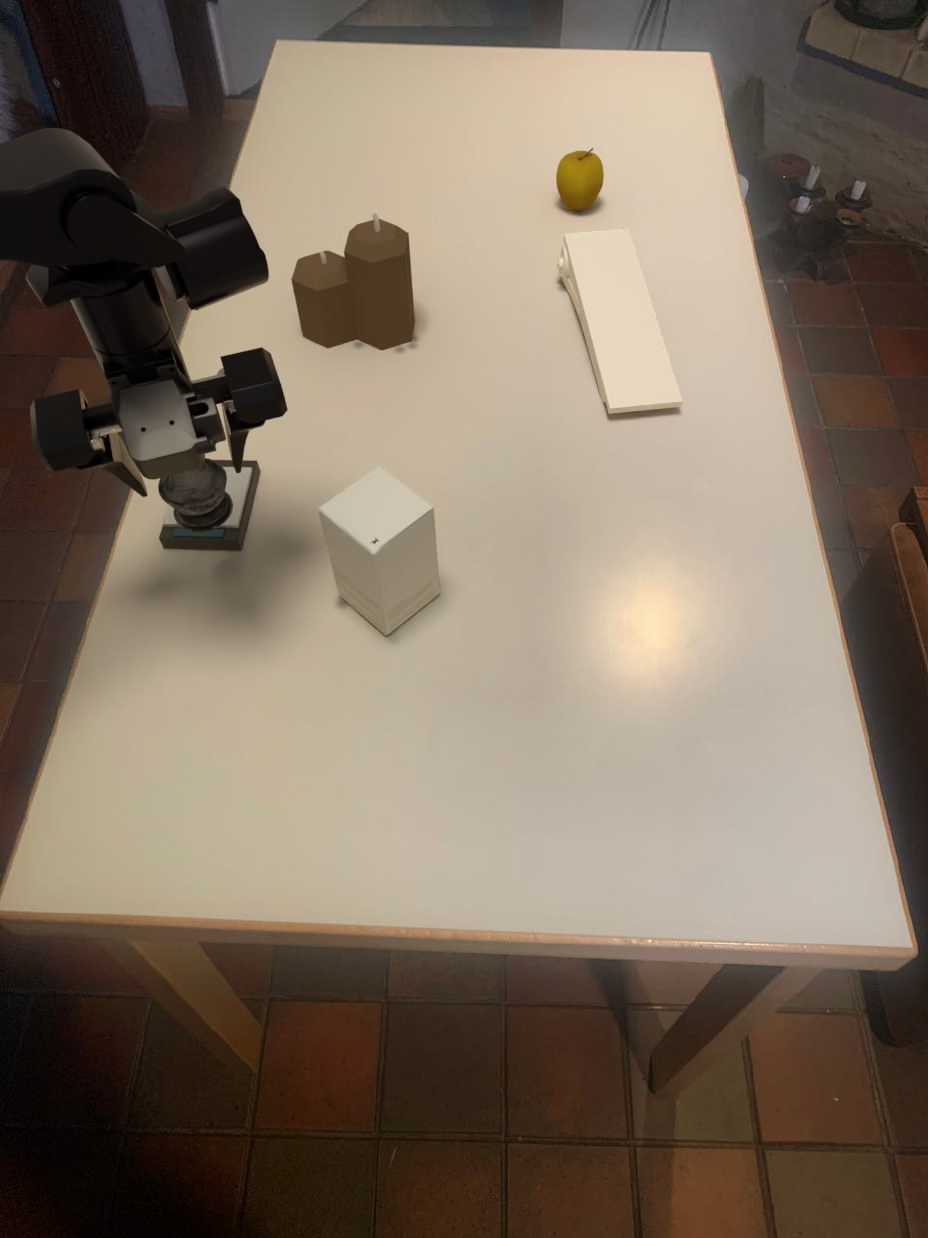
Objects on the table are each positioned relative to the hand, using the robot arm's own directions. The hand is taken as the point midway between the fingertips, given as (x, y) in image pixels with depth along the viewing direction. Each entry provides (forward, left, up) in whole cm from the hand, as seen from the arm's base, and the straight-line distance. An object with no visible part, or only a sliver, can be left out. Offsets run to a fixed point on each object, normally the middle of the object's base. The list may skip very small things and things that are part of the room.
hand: (191, 481), depth 73 cm
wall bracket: (+51, +19, -13) cm, 56 cm away
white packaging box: (+14, -8, -13) cm, 21 cm away
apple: (+59, +47, -13) cm, 77 cm away
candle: (+24, +33, -13) cm, 43 cm away
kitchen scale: (0, +9, -13) cm, 16 cm away
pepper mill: (0, 0, -4) cm, 4 cm away
